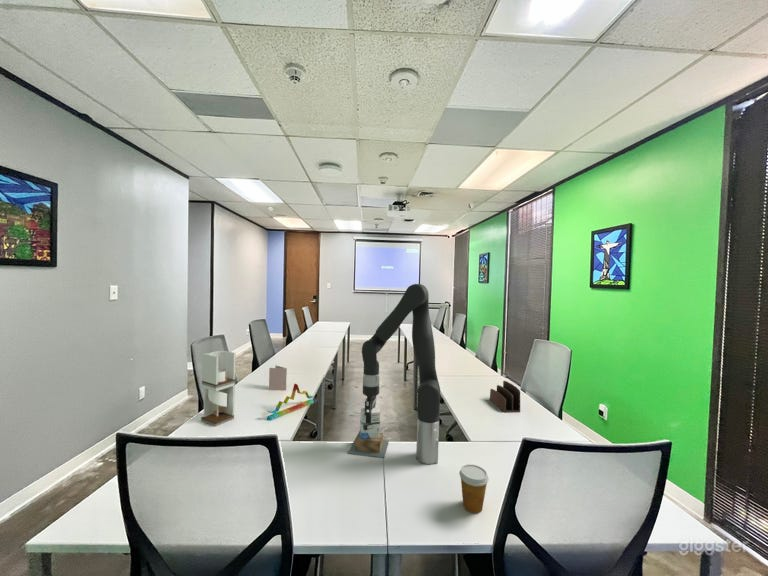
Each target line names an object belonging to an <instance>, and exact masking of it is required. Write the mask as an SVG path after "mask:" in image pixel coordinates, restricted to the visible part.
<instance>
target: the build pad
mask: <svg viewBox="0 0 768 576" xmlns="http://www.w3.org/2000/svg"><path fill="white" fill-rule="evenodd" d="M355 441H356V437H355V439H353V442H352V444H351V446H350V447H349V450H348V452H347V454H348V455H349V454H350V455H355V456H363V457H364V456H365V457H370V458H379V459H385V457H386V456H385V455H386V454H387V449H388V447H389V442H390V441H389V440H384V439H383V444H382V447H381V450H380V453H377V452H369V451H361V450H355Z"/></svg>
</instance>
